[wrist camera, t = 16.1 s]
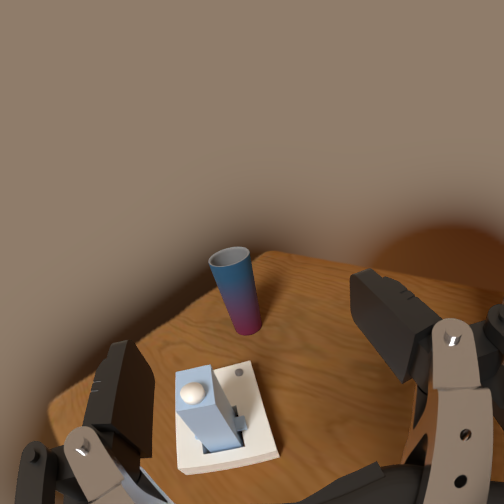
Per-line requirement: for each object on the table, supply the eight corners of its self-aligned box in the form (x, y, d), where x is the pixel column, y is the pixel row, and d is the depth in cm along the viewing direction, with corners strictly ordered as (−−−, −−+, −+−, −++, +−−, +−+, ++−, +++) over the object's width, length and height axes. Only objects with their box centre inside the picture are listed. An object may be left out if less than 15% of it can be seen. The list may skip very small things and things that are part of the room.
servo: (201, 426, 32) (162, 369, 27) (246, 416, 32) (219, 356, 27) (204, 458, 27) (160, 408, 22) (254, 448, 28) (226, 396, 22)
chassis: (181, 387, 39) (174, 376, 38) (253, 370, 40) (249, 358, 39) (186, 474, 25) (176, 467, 23) (279, 457, 26) (276, 449, 24)
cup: (234, 316, 54) (214, 249, 48) (267, 313, 53) (251, 244, 47) (228, 339, 48) (203, 269, 42) (264, 337, 47) (246, 263, 41)
